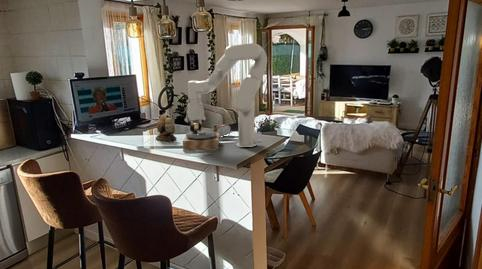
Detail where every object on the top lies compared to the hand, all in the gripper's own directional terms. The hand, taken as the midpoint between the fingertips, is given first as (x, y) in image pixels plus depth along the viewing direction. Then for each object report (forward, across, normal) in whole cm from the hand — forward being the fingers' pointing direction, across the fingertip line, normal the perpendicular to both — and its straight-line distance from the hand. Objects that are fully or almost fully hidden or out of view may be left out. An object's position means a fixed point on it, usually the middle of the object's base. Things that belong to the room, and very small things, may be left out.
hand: (195, 130), depth 214 cm
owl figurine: (+9, -11, +24) cm, 28 cm away
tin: (+9, +23, +8) cm, 26 cm away
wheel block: (+9, +1, -7) cm, 11 cm away
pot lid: (+2, +1, -7) cm, 7 cm away
